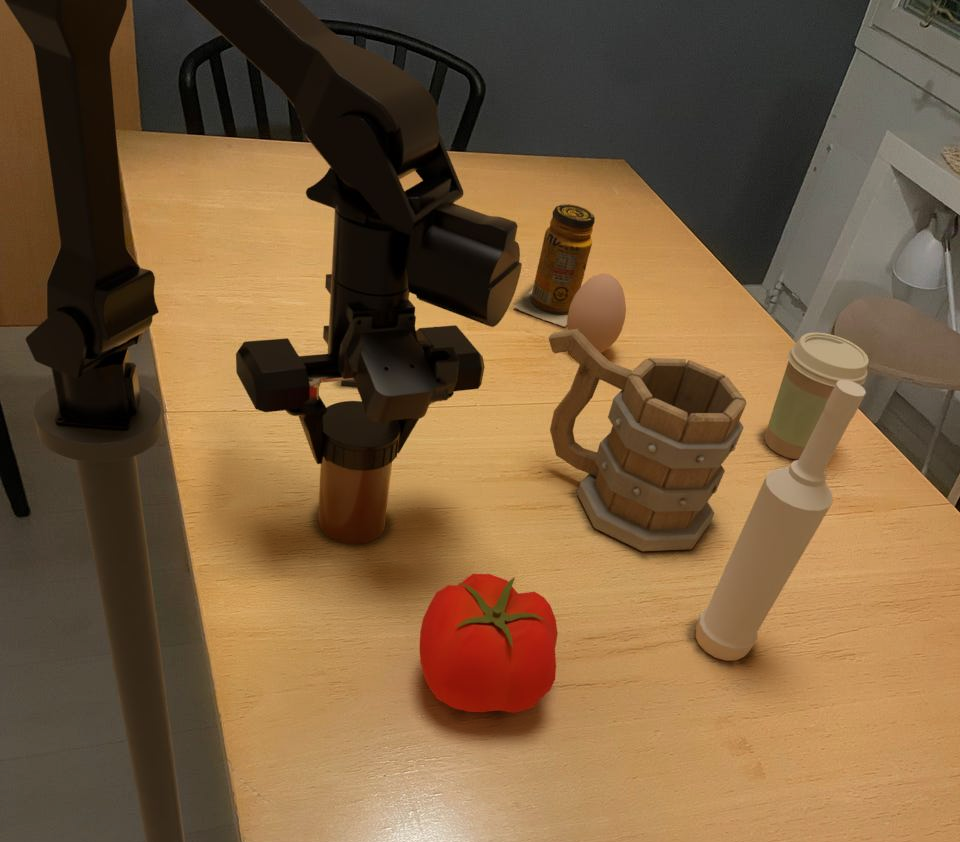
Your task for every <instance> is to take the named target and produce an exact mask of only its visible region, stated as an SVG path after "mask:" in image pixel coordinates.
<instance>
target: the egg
mask: <svg viewBox="0 0 960 842" xmlns="http://www.w3.org/2000/svg"><path fill="white" fill-rule="evenodd" d="M626 304H627V303H626V296H625V293H624V289H623V287H622V284H621V283H620V282H619V280H618V279H617V278H616V277H614V276H613V275H612V274H610V273H598V274H595V275H592V276H591V277H590V278H588V279H587V280H586V281H585V282H584V283H582V285H581V287H580V289H579V290H578V291H577V293H576V294H575V296H574V298H573V300H572V302H571V305H570V309H569V312H568V317H567V325H566V326H567V327H566V328H567V330H573V329H578V330H579V331H580V332H581V333H582V334H583V335H584V336H585V337H586V339H587V340H588V341H589V342H590V343H591V344H592V345H593V346H594V347H595V348H596V349H597V350H598V351H599V352H600V353H602V352H603V353H604V352H605V351H607V350H608V349H609V348H611V346H613V345H614V344H615V343H616V341H617V340H618V338H619V337H620V335H621V333H622V331H623V327H624V324H625V321H626V313H627V306H626Z"/></svg>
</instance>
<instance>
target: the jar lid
mask: <svg viewBox="0 0 960 842" xmlns="http://www.w3.org/2000/svg"><path fill="white" fill-rule="evenodd" d="M326 408H327V412H326V413H325V414H324V415H323V440H324V453H323V456H324V458H326V459H327V460H328V461H330V462H332V463H333V464H335V465H338V466H340V467H343V468H347V469H351V470H365V471H366V470H374V469H379V468H382V467H384V466H387V465H388V464H390V463H392V464H393V462H394V460H395V459H397V458H398V454H399V453H400V452H399V447H400V438H401V435H400V430H401V427H400V423H399V421H398V420H392V421H390V422H388V423H376V422H373V421H371V420H370V419H369V418H368V417H367V415H366V413H365V411H364V405H363V402H362V400H345V401H338V402H335V403H333V404H332V403H331V404H330V405H328V406H326ZM398 452H399V453H398Z"/></svg>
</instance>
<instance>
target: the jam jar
mask: <svg viewBox="0 0 960 842" xmlns="http://www.w3.org/2000/svg"><path fill="white" fill-rule="evenodd" d="M392 467H393V462H392V463H390V464H388V465H387V466H384V467H382V468H379V469H374V470H366V471H365V470H351V469H347V468H343V467H340V466H338V465H335V464H333V463H332V462H330V461H328V460H327V459H326V458H324V456H323V461H322V464H320V468H319V469H320V470H319V489H318V490H319V491H318V512H317V523H318V526H319V529H320V530H321V531H322V533H324V534H325V535H326V536H327V537H329V538H330V539H331V540H334V541H337V542H339V543H343V544H350V545H362V544H366V543H367V544H368V543H370V542H372V541H375V540H376V539H378V538H379V537H380V536H381V535H382V534H383V532H384V531H385V527H386V520H387V510H388V502H389V494H390V487H391V486H390V485H391V475H392V469H393V468H392Z"/></svg>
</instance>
